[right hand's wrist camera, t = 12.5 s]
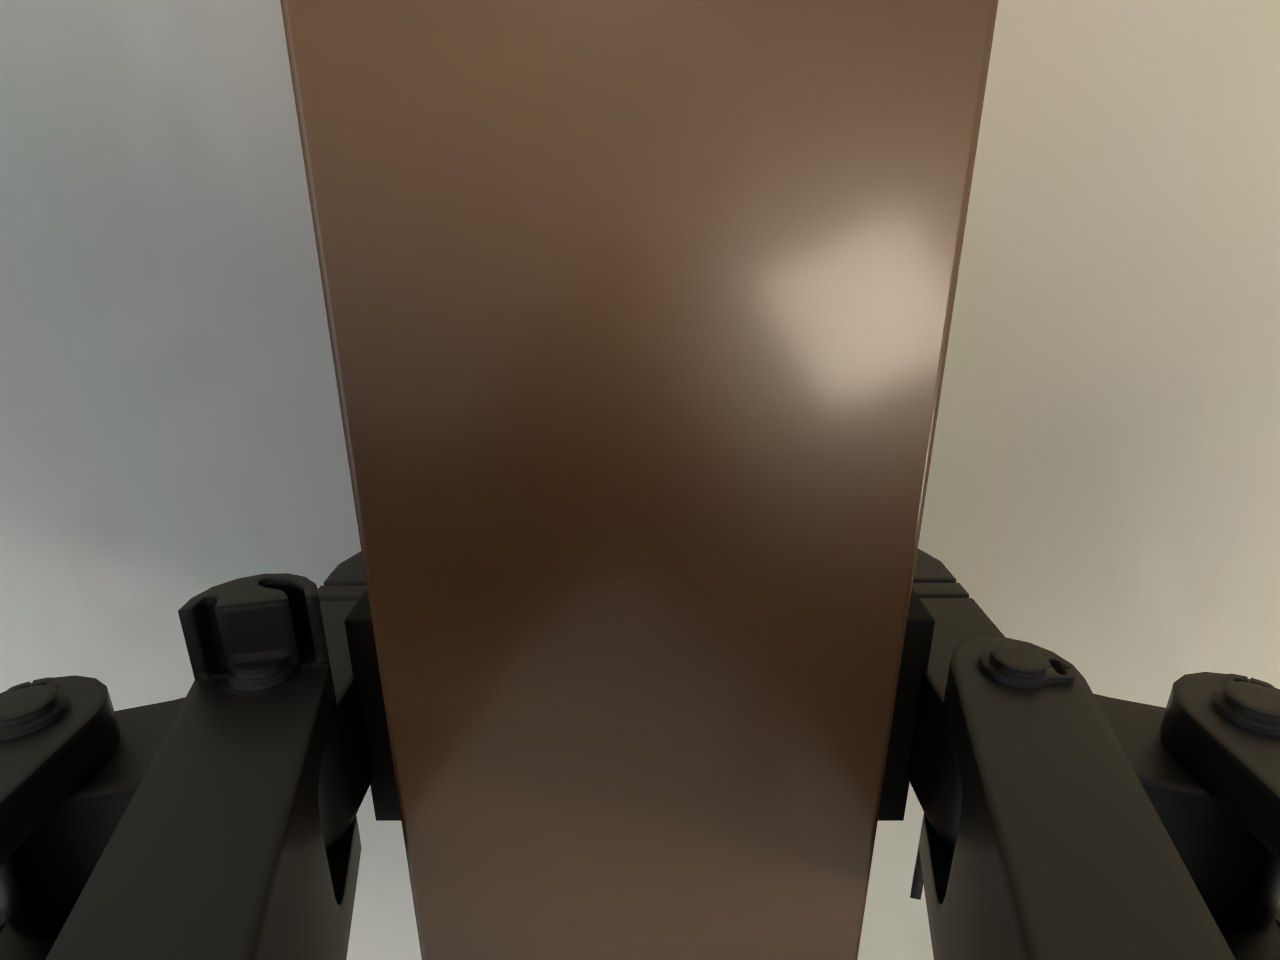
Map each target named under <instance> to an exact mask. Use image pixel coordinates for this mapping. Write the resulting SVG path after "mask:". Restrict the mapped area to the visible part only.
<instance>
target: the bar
mask: <svg viewBox="0 0 1280 960" xmlns="http://www.w3.org/2000/svg"><path fill="white" fill-rule="evenodd" d="M280 1H281V8H282V15H283V22H284V28H285V35H286V42H287V49H288V55H289V62H290V69H291V76H292V83H293V89H294V96H295V103H296V110H297V116H298V123H299V130H300V137H301V143H302V150H303V157H304V164H305V171H306V177H307V184H308V191H309V198H310V204H311V211H312V218H313V225H314V231H315V238H316V245H317V252H318V259H319V265H320V272H321V279H322V286H323V292H324V299H325V306H326V313H327V319H328V326H329V333H330V340H331V347H332V353H333V360H334V367H335V374H336V380H337V387H338V394H339V401H340V407H341V414H342V421H343V428H344V435H345V441H346V448H347V455H348V462H349V468H350V475H351V482H352V489H353V495H354V502H355V509H356V516H357V523H358V529H359V536H360V543H361V550H362V556H363V563H364V570H365V577H366V583H367V590H368V597H369V604H370V610H371V617H372V624H373V631H374V638H375V644H376V651H377V658H378V665H379V671H380V678H381V685H382V692H383V698H384V705H385V712H386V719H387V726H388V732H389V739H390V746H391V753H392V759H393V766H394V773H395V780H396V786H397V793H398V800H399V807H400V814H401V820H402V827H403V834H404V841H405V847H406V854H407V861H408V868H409V874H410V881H411V888H412V895H413V902H414V908H415V915H416V922H417V929H418V935H419V942H420V949H421V956H422V960H857V957H858V950H859V943H860V936H861V929H862V923H863V916H864V909H865V902H866V896H867V889H868V882H869V875H870V868H871V862H872V855H873V848H874V841H875V834H876V828H877V821H878V814H879V807H880V800H881V794H882V787H883V780H884V773H885V766H886V760H887V753H888V746H889V739H890V732H891V726H892V719H893V712H894V705H895V698H896V692H897V685H898V678H899V671H900V664H901V658H902V651H903V644H904V637H905V630H906V624H907V617H908V610H909V603H910V596H911V590H912V583H913V576H914V569H915V563H916V556H917V549H918V542H919V535H920V529H921V522H922V515H923V508H924V501H925V495H926V488H927V481H928V474H929V467H930V461H931V454H932V447H933V440H934V433H935V427H936V420H937V413H938V406H939V399H940V393H941V386H942V379H943V372H944V365H945V359H946V352H947V345H948V338H949V331H950V325H951V318H952V311H953V304H954V297H955V291H956V284H957V277H958V270H959V263H960V257H961V250H962V243H963V236H964V230H965V223H966V216H967V209H968V202H969V196H970V189H971V182H972V175H973V168H974V162H975V155H976V148H977V141H978V134H979V128H980V121H981V114H982V107H983V100H984V94H985V87H986V80H987V73H988V66H989V60H990V53H991V46H992V39H993V32H994V26H995V19H996V12H997V5H998V0H280Z"/></svg>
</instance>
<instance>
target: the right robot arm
mask: <svg viewBox="0 0 1280 960" xmlns="http://www.w3.org/2000/svg"><path fill="white" fill-rule="evenodd" d="M178 613H179V617H180V621H181V625H182V629H183V633H184V637H185V641H186V645H187V649H188V653H189V657H190V661H191V665H192V669H193V673H194V677H195V681H194V683H193V685H192V687H191V689H190V690H189V692H188V694H187V696H186V697H185V698H181V699H177V700H173V701H167V702H162V703H157V704H151V705H146V706H141V707H136V708H130V709H125V710H120V711H114V709H113V706H112V703H111V699H110V696H109V693H108V689H107V686H105V685H104V684H102V683H101V682H100V681H98V680H97V679H96V678H89V677H82V676H66V677H57V678H43V679H38V680H33V682H32V683H30V682H26V683H23V684H20V685H16V686H14V687H11V688H10V689H8V690H7V691H5V692H3V693H0V960H346V957H347V950H348V942H349V935H350V927H351V920H352V913H353V905H354V898H355V890H356V883H357V876H358V868H359V861H360V853H361V843H360V835H359V829H358V823H357V817H356V813H357V811H358V809H359V807H360V805H361V803H362V801H363V798H364V796H365V794H366V792H367V790H368V788H369V786H370V785H371V791H372V797H373V804H374V810H375V816H376V820H401V814H400V807H399V800H398V793H397V786H396V780H395V773H394V766H393V759H392V753H391V746H390V739H389V732H388V726H387V719H386V712H385V705H384V698H383V692H382V685H381V678H380V671H379V665H378V658H377V651H376V644H375V638H374V631H373V624H372V617H371V610H370V604H369V597H368V590H367V583H366V577H365V570H364V563H363V556H362V551H361V552H359V553H358V554H356V555H354V556H352V557H351V558H349V559H347V560H346V561H344V562H342V563H340V564H339V565H338V566H337V567H336V568H335V570H334V571H333V572H332V573H331V574H330V576H329V577H328V578H327V579H326V580H325V581H324V586H320V587H319V589H318V590H317V585H316V584H315V583H313V582H312V581H310V580H309V579H308V578H306V577H302V576H297V575H292V574H261V575H256V576H250V577H244V578H239V579H235V580H232V581H229V582H226V583H223V584H220V585H217V586H214V587H212V588H210V589H208V590H206V591H204V592H202V593H200V594H199V595H197V596H195V597H193V598H191V599H190V600H189V601H188V602H187V603H186V604H185V605H184V606H183V607H182V608H181V609H180V610H178ZM909 782H910V783H911V785H912V787H913V789H914V791H915V793H916V796H917V798H918V800H919V802H920V804H921V806H922V808H923V810H924V817H923V823H922V829H921V835H920V841H919V846H918V852H917V858H916V864H915V870H914V876H913V881H912V888H911V896H910V898H915V899H921V894H922V888H923V884H924V889H925V896H926V904H927V911H928V918H929V926H930V933H931V941H932V948H933V955H934V960H1280V690H1279V689H1277V688H1275V687H1273V686H1272V685H1271V684H1269V683H1266V682H1263V681H1260V680H1257V679H1253V678H1251V680H1250V679H1248V678H1247V677H1246V676H1241V675H1236V674H1220V673H1210V672H1202V673H1194V674H1187V675H1184V676H1183V677H1181V678H1180V679H1178V680H1177V681H1176V682H1174V684H1173V687H1172V690H1171V694H1170V697H1169V700H1168V704H1167V707H1166V708H1163V707H1157V706H1152V705H1147V704H1141V703H1136V702H1131V701H1125V700H1120V699H1115V698H1109V697H1105V696H1101V695H1097V694H1093V693H1092V691H1091V689H1090V687H1089V685H1088V684H1087V682H1086V680H1085V678H1084V677H1083V676H1082V675H1081V674H1080V673H1079V671H1078V670H1077V669H1076V668H1075V667H1074V666H1073V665H1072V664H1071V663H1069V662H1068V661H1066V660H1064V659H1063V658H1061V657H1060V656H1058V655H1057V654H1055V653H1053V652H1051V651H1049V650H1046V649H1044V648H1041V647H1039V646H1036V645H1033V644H1031V643H1028V642H1023V641H1019V640H1014V639H1009V638H1005V636H1004V635H1003V634H1002V633H1001V632H1000V631H999V629H998V628H997V627H996V626H995V625H994V624H993V622H992V621H991V620H990V619H989V618H988V616H987V615H986V614H985V613H984V612H983V611H982V609H981V608H980V607H979V606H978V605H977V604H976V602H975V601H974V600H973V599H972V598H969V594H968V593H967V592H966V591H965V589H964V588H963V587H962V586H961V585H960V584H959V583H956V579H955V578H954V577H953V575H952V574H951V573H950V572H949V571H948V569H947V568H946V567H945V566H944V565H943V564H942V562H940V561H939V560H937V559H935V558H934V557H932V556H930V555H928V554H927V553H925V552H923V551H921V550H920V549H917V556H916V563H915V569H914V576H913V583H912V590H911V596H910V603H909V610H908V617H907V624H906V630H905V637H904V644H903V651H902V658H901V664H900V671H899V678H898V685H897V692H896V698H895V705H894V712H893V719H892V726H891V732H890V739H889V746H888V753H887V760H886V766H885V773H884V780H883V787H882V794H881V800H880V807H879V814H878V820H903V819H904V813H905V807H906V801H907V794H908V788H909Z"/></svg>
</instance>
